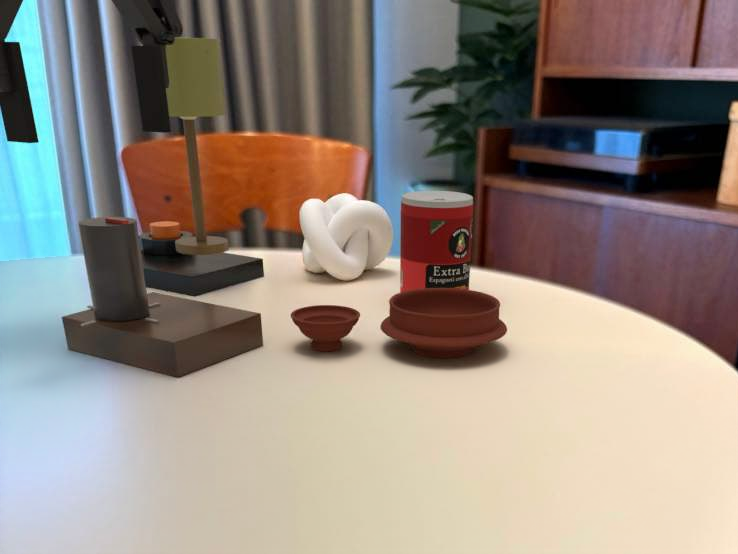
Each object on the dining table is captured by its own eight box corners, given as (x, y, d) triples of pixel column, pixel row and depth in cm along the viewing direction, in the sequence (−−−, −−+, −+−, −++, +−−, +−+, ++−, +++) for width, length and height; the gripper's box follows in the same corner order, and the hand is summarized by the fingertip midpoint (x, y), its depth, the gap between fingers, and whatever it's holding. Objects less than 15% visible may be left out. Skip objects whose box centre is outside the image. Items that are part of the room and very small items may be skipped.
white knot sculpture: (361, 290, 96) (359, 208, 92) (273, 279, 101) (268, 200, 96) (401, 271, 105) (402, 196, 101) (319, 262, 110) (317, 189, 105)
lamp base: (96, 278, 100) (90, 243, 98) (170, 260, 109) (166, 228, 107) (194, 297, 93) (190, 260, 91) (265, 276, 102) (263, 242, 100)
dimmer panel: (55, 350, 75) (47, 316, 74) (153, 321, 84) (149, 289, 83) (169, 380, 69) (164, 343, 67) (263, 345, 78) (260, 311, 76)
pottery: (511, 369, 73) (515, 319, 70) (284, 366, 73) (281, 316, 70) (499, 331, 83) (502, 286, 80) (300, 328, 83) (297, 283, 80)
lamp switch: (145, 239, 103) (143, 224, 102) (166, 234, 106) (164, 220, 105) (166, 242, 101) (164, 227, 101) (187, 237, 104) (185, 223, 103)
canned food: (431, 313, 88) (435, 203, 83) (385, 298, 93) (385, 193, 88) (483, 302, 92) (489, 197, 87) (436, 288, 98) (439, 188, 92)
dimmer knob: (83, 316, 75) (65, 218, 70) (124, 304, 78) (109, 211, 74) (120, 324, 72) (103, 224, 68) (160, 312, 76) (147, 216, 72)
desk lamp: (152, 251, 95) (123, 37, 84) (201, 240, 101) (180, 39, 90) (203, 259, 91) (180, 37, 81) (251, 248, 97) (235, 39, 86)
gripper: (-107, -268, 46) (-14, 150, 57) (206, -172, 65) (232, 130, 75) (-178, -246, 50) (-78, 144, 60) (139, -161, 68) (173, 126, 79)
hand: (95, 137), depth 68 cm, fingers open, 13 cm apart
